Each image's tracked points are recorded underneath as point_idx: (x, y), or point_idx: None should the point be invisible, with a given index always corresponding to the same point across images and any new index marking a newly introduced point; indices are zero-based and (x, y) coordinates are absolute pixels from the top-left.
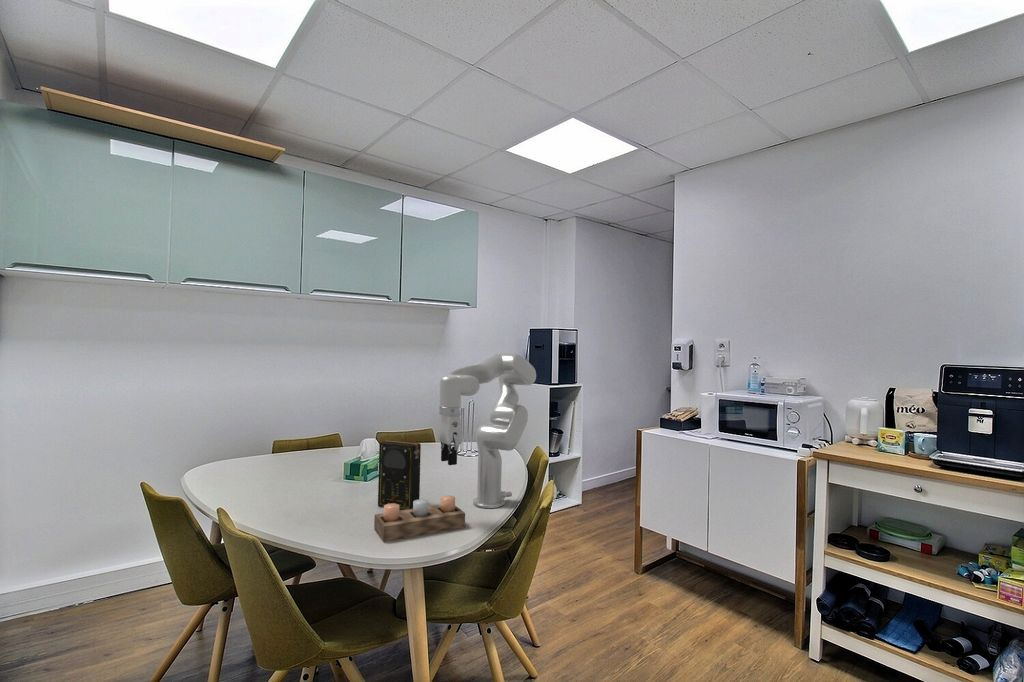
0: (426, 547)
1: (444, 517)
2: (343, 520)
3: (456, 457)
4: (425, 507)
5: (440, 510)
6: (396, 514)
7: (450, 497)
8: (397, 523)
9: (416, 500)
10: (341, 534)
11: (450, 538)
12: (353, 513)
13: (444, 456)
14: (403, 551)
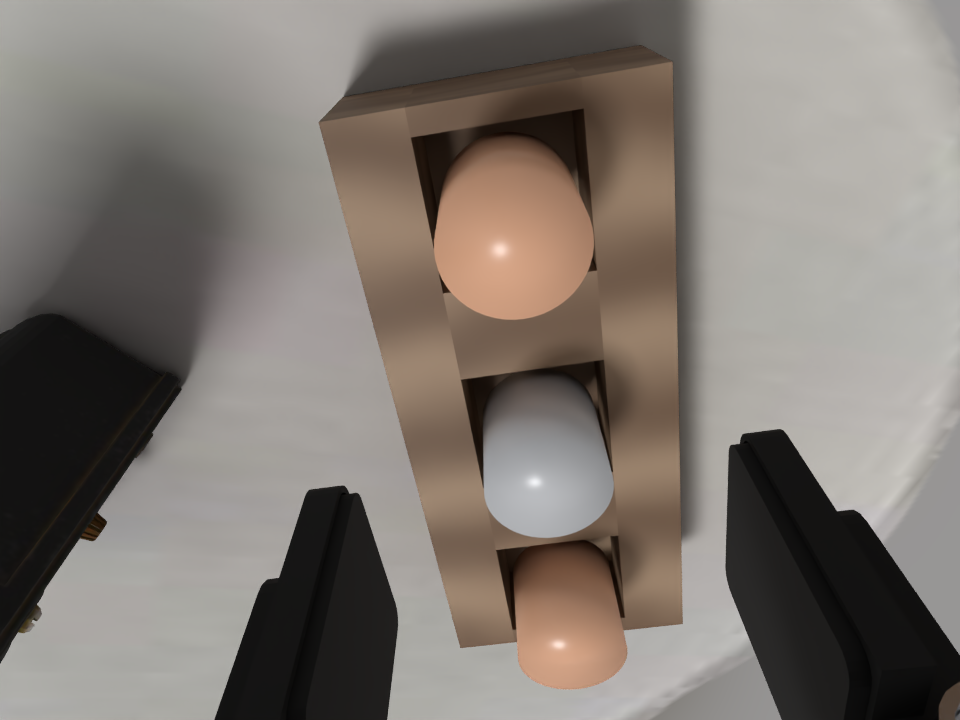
0: (847, 380)
1: (673, 269)
2: None
3: (859, 557)
4: (601, 441)
5: None
6: (613, 594)
7: (516, 221)
8: (669, 565)
9: (506, 513)
10: (480, 683)
11: (797, 215)
12: (180, 641)
13: (372, 662)
14: (826, 487)
